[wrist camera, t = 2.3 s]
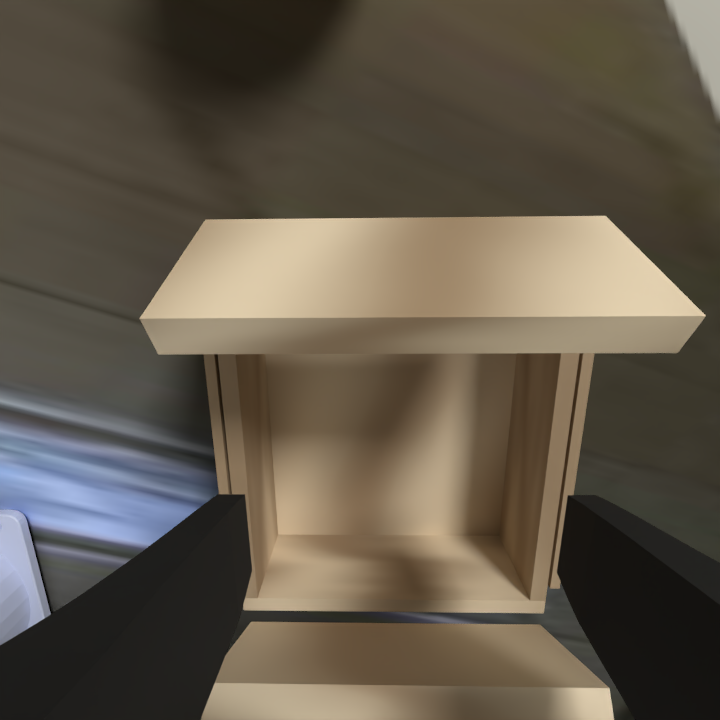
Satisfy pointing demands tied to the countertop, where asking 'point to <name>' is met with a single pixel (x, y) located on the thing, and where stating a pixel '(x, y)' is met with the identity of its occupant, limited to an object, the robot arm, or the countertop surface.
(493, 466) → the carton
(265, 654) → the flap
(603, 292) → the flap
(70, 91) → the countertop surface
